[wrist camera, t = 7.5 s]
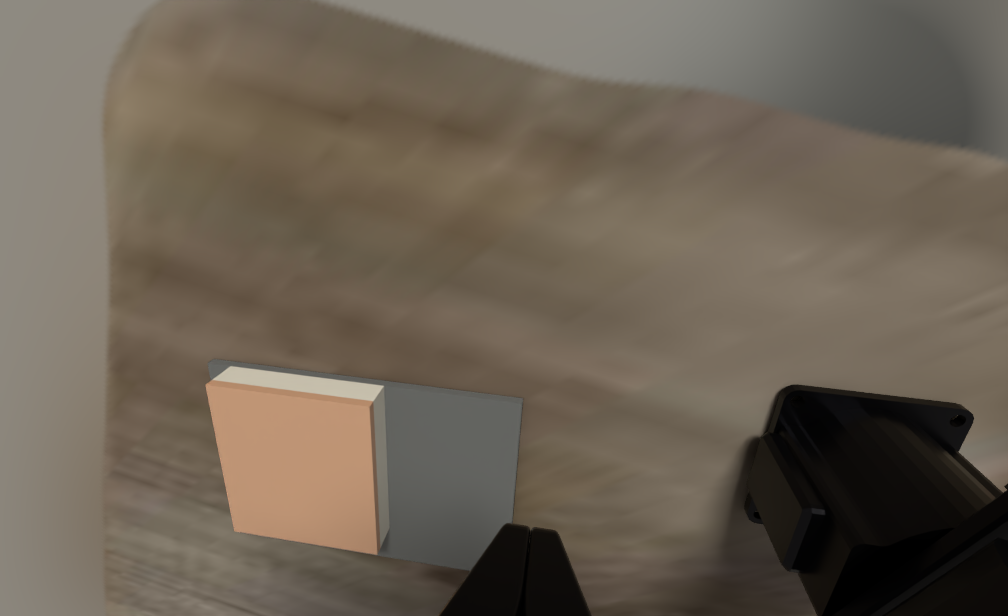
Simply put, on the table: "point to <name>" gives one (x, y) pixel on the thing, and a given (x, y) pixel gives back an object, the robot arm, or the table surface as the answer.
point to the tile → (303, 457)
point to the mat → (440, 467)
